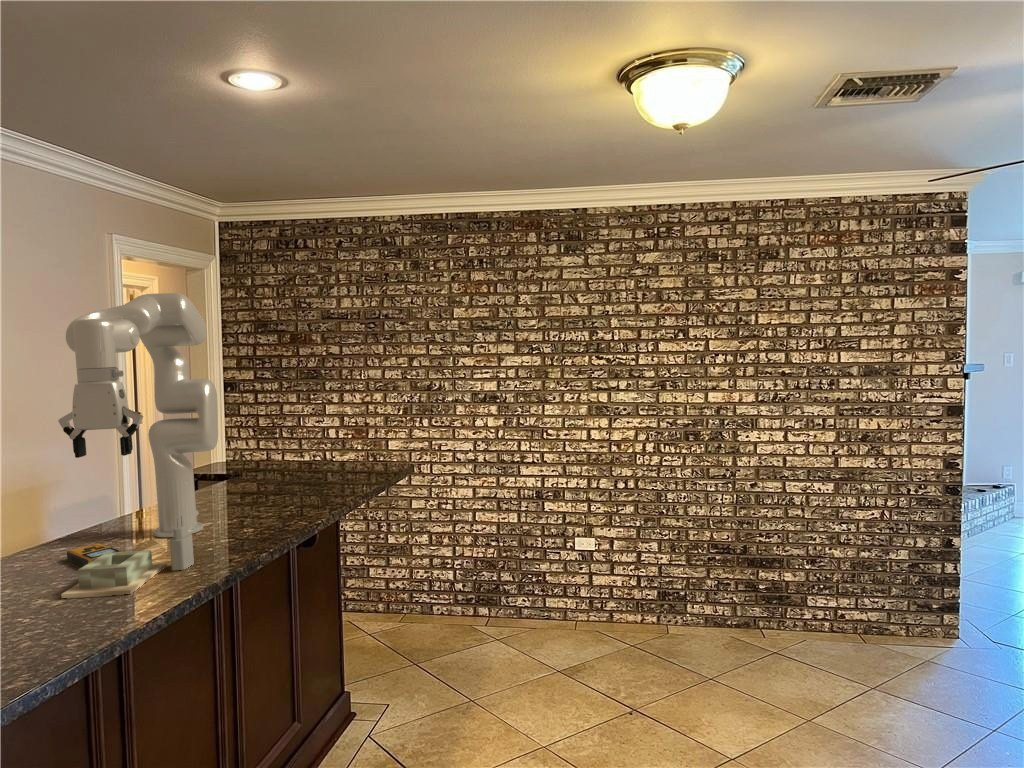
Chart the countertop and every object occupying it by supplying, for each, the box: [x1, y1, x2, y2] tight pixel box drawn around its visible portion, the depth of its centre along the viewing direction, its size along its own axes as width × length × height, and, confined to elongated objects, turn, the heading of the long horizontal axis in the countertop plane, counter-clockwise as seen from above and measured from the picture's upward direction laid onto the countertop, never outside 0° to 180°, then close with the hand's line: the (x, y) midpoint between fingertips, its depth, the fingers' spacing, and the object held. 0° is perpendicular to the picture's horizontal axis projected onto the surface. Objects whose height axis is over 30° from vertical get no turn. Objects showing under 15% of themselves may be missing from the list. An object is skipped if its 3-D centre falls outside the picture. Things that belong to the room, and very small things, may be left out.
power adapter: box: [169, 516, 195, 571], centre depth 165 cm, size 3×5×12 cm, turn 177°
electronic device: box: [66, 543, 123, 568], centre depth 173 cm, size 8×16×3 cm, turn 52°
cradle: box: [60, 549, 168, 599], centre depth 156 cm, size 18×14×5 cm
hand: (103, 455), depth 153 cm, fingers open, 9 cm apart
